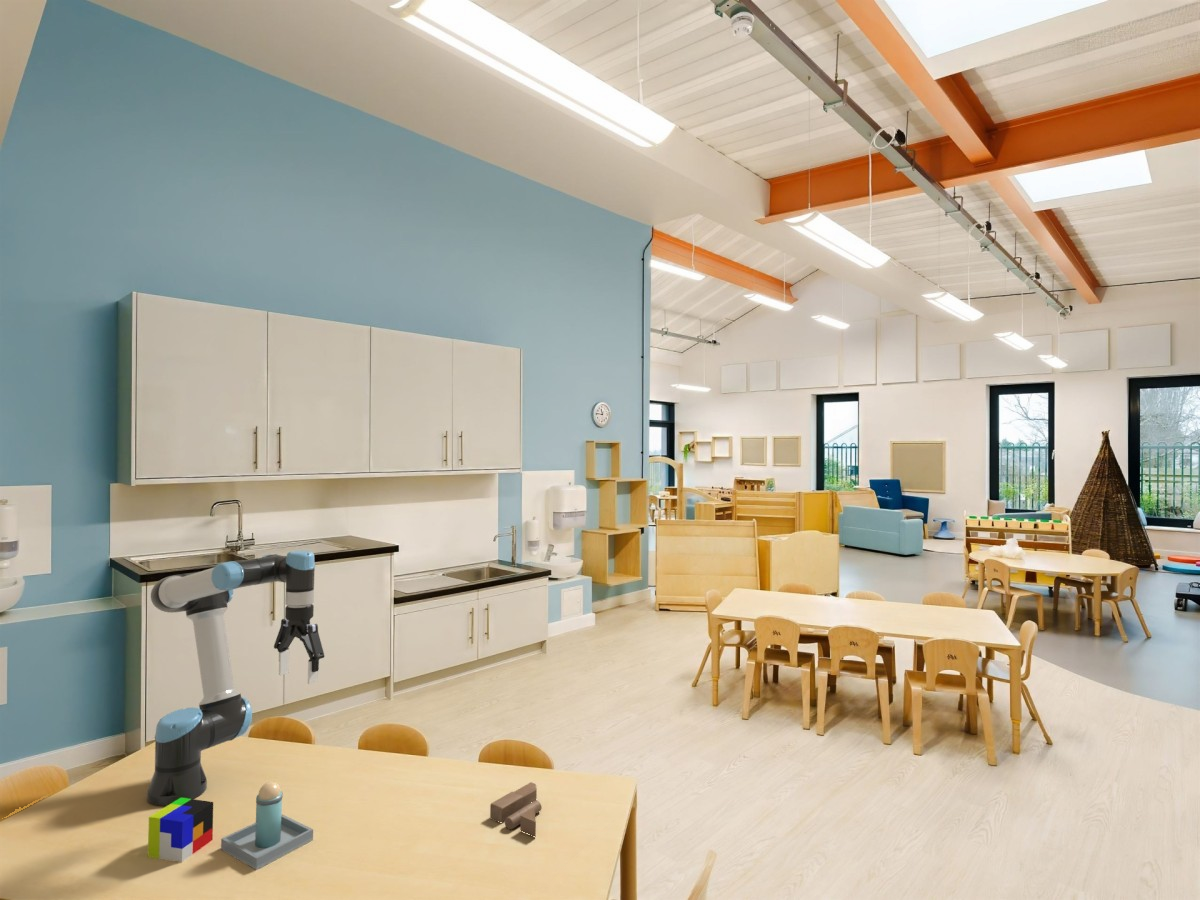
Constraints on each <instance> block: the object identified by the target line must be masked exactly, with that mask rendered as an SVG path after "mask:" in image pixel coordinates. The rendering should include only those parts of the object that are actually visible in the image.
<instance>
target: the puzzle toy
mask: <svg viewBox="0 0 1200 900" xmlns="http://www.w3.org/2000/svg"><path fill="white" fill-rule="evenodd" d="M213 827H214V801H208V800H201V799H195V798H194V799H188V798H179V799H178V800H176V801H174V802H173V803H171V804H169V805H165V807H163V808H162V809H161V808H160V810H158V811H156V812H155V813H153V814H151V815H149V817H148V833H147V834H148V841H147V842H148V843H147V844H148V845H147V857H148V858H154V859H160V860H167V861H171V862H172V861H174V862H180V863H183V862H184V861H186V860H187V859H188V858H190V857H191V856H193V855H194V854H195V853H197V852H198V851H199V850H201V849H202V848H204V847H205V846H206V845H208V844H209V843H210V842H212V841H213V835H214V834H213V833H214V832H213V831H214V828H213Z"/></svg>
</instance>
